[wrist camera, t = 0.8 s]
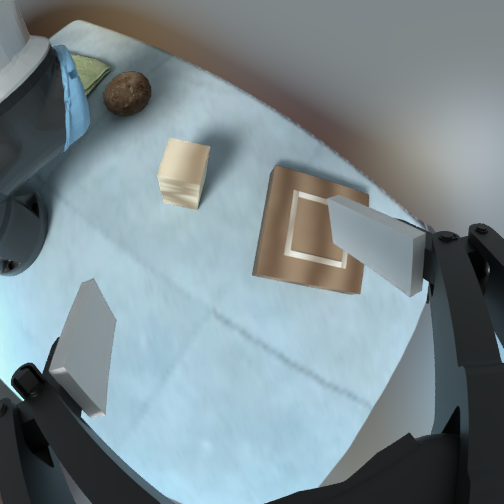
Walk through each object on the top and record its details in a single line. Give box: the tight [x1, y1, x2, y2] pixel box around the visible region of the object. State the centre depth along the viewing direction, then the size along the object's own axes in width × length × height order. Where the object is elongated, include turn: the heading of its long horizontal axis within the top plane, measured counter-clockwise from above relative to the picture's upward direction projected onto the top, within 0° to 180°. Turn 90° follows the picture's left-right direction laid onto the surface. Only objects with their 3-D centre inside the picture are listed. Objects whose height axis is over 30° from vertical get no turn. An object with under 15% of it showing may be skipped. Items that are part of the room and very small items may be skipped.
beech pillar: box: [157, 138, 210, 210], centre depth 37 cm, size 5×5×10 cm
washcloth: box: [70, 53, 110, 95], centre depth 39 cm, size 13×18×3 cm
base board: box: [252, 165, 369, 294], centre depth 43 cm, size 16×16×3 cm
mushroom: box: [103, 71, 151, 116], centre depth 40 cm, size 8×8×6 cm
